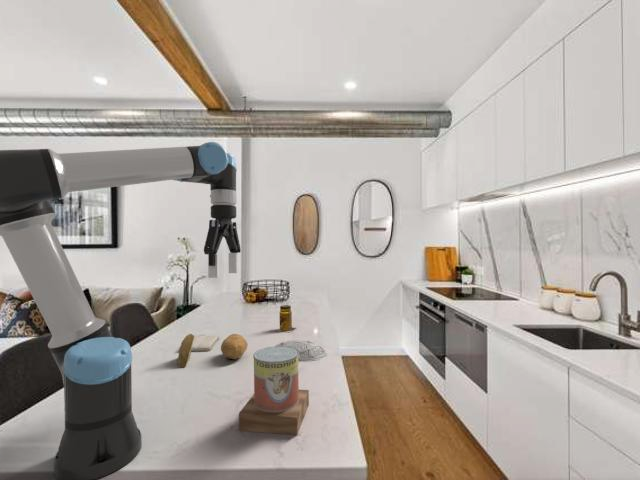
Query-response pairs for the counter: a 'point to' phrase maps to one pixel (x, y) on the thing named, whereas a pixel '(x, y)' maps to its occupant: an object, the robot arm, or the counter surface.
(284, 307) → the condiment
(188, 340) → the rock
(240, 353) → the potato
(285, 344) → the silver oval dome
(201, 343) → the washcloth
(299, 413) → the walnut base
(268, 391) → the canned food
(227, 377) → the counter surface
